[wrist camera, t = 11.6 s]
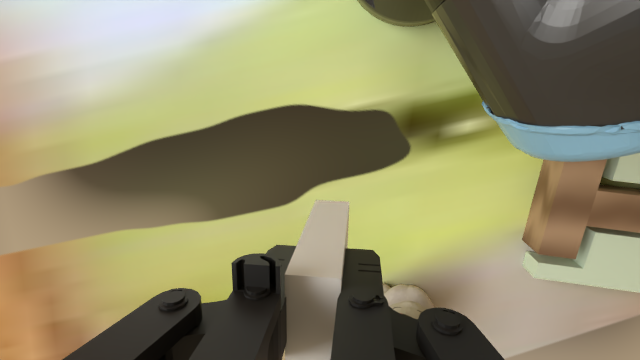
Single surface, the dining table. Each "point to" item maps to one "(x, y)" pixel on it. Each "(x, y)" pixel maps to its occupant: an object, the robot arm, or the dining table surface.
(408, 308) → the figurine
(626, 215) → the t block
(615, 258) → the slot frame
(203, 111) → the dining table surface
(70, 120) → the dining table surface
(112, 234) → the dining table surface
